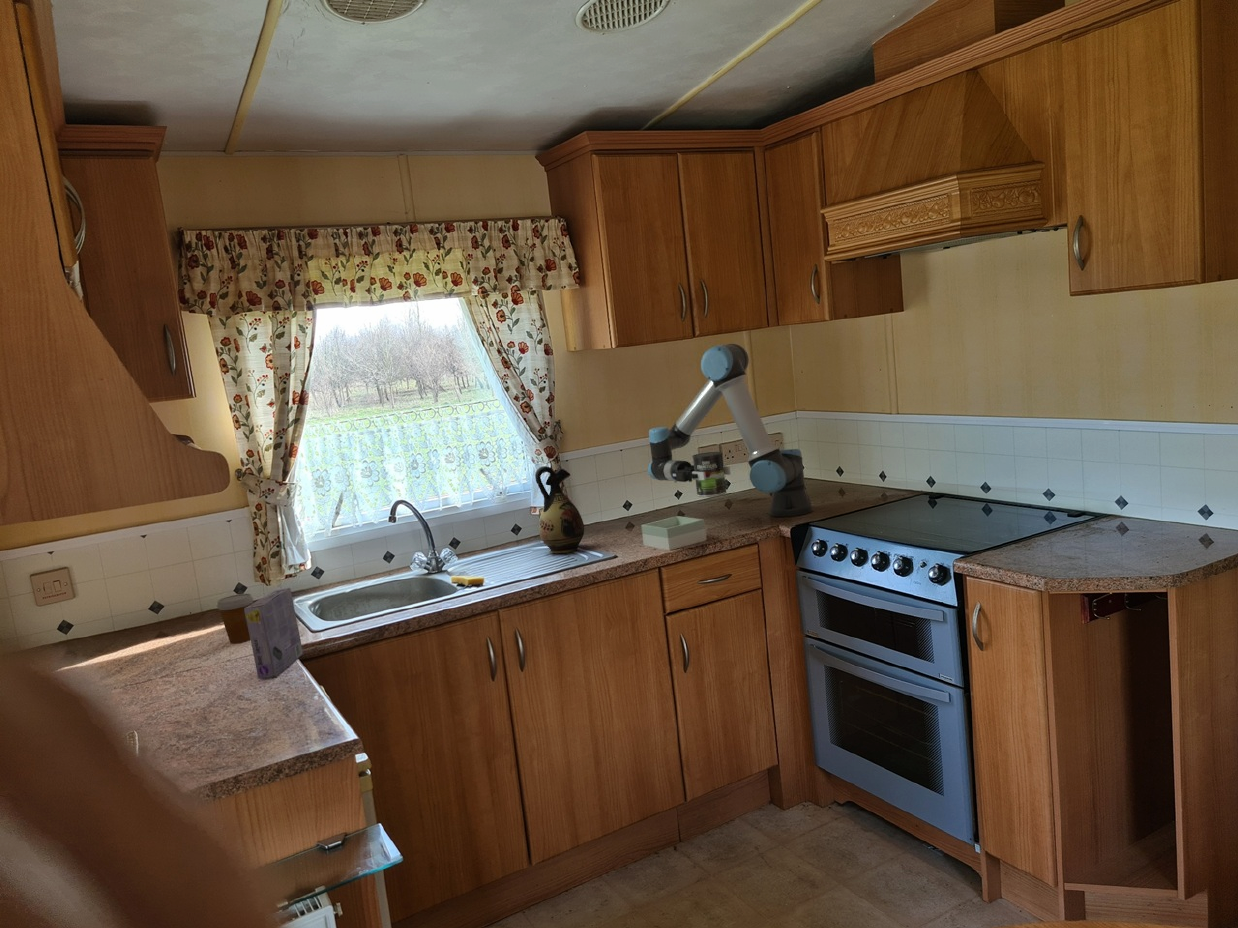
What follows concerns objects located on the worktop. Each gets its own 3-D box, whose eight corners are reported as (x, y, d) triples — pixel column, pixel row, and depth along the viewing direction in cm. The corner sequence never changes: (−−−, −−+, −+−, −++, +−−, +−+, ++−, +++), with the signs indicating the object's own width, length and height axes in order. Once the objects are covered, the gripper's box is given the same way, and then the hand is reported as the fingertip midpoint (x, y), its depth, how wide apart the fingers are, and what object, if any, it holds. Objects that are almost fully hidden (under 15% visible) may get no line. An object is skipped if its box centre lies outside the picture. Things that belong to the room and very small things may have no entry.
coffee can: (725, 495, 320) (720, 454, 319) (695, 498, 323) (690, 457, 321) (728, 490, 330) (724, 450, 329) (699, 493, 333) (694, 453, 331)
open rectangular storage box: (679, 535, 325) (677, 516, 324) (706, 540, 313) (704, 519, 312) (643, 545, 318) (641, 525, 317) (669, 550, 305) (666, 529, 304)
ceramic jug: (576, 543, 336) (565, 460, 333) (593, 549, 322) (582, 462, 319) (531, 553, 329) (519, 468, 326) (547, 559, 315) (534, 471, 312)
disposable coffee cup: (231, 647, 256) (223, 604, 255) (218, 642, 263) (210, 600, 262) (265, 636, 262) (258, 594, 261) (252, 632, 269) (244, 591, 268)
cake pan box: (287, 655, 241) (275, 587, 239) (306, 652, 241) (294, 585, 239) (255, 681, 222) (242, 608, 220) (276, 678, 222) (263, 605, 220)
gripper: (705, 475, 347) (744, 478, 328) (654, 487, 335) (691, 490, 317) (702, 455, 346) (741, 456, 327) (651, 466, 335) (689, 468, 316)
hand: (717, 473), depth 322 cm, fingers closed on coffee can, 10 cm apart
